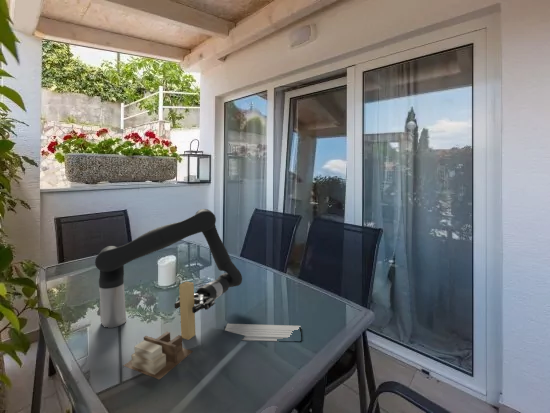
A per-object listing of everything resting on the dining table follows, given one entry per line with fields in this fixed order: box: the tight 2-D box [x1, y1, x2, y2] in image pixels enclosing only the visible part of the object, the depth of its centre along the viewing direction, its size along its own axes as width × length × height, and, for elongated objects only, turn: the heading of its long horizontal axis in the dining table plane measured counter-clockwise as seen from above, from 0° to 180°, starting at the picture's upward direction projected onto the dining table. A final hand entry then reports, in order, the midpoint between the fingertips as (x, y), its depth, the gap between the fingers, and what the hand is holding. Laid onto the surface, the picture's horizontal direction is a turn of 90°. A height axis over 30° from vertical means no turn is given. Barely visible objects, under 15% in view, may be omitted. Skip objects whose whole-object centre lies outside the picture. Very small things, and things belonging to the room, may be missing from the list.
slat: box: [178, 280, 196, 341], centre depth 117 cm, size 4×4×22 cm
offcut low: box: [130, 352, 166, 375], centre depth 101 cm, size 10×5×4 cm, turn 66°
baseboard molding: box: [223, 323, 302, 342], centre depth 123 cm, size 31×3×12 cm
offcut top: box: [133, 339, 162, 361], centre depth 100 cm, size 8×4×3 cm, turn 66°
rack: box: [122, 331, 194, 380], centre depth 105 cm, size 16×16×8 cm
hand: (184, 308), depth 115 cm, fingers open, 8 cm apart
